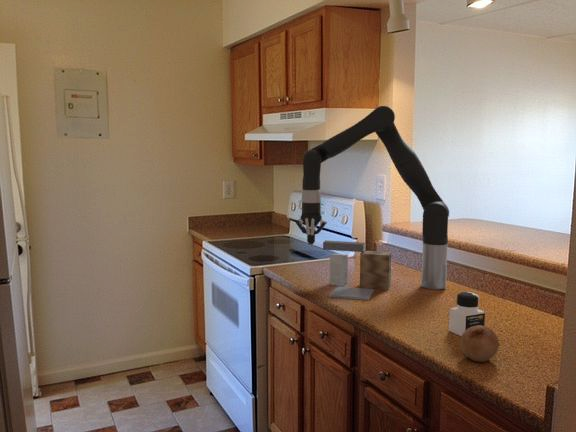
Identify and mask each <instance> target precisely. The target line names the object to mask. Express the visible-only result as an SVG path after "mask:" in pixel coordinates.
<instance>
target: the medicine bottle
mask: <svg viewBox="0 0 576 432" xmlns="http://www.w3.org/2000/svg"><path fill="white" fill-rule="evenodd" d="M456 295H457V296H456V307H450V308H449V323H448V324H449V325H448V331H449V332H451V333H453V334H455V335H457V336H459V337H461V336H462V334H463V333H464V331H465V330H467V329H468V328H470V327H471V326H477V325H481V326H485V324H486V323H485V320H486V318H485V317H486V312H485V311H484V310H482V309H479V303H480V296H479V294H476V293H474V292H470V291H462V292H459V293H458V294H456Z"/></svg>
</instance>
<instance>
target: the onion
mask: <svg viewBox="0 0 576 432" xmlns="http://www.w3.org/2000/svg"><path fill="white" fill-rule="evenodd" d="M459 344H460V348H461V350H462V352H463V355H464V356H465V357H467V358H468V359H470V360H472V361H474V362H479V363H484V362H487V361H489V360H490V359H492V358H493V357H495V356H496V354H497V353H498V350H499V346H500V340H499V338H498V336H497V334H496V332H495V331H494V330H493V329H492V328H490V327H488V326H485V325H484V326H481V325H477V326H471V327H470V328H468V329H467V330H465V331H464V333H463V334H462V336H460V343H459Z"/></svg>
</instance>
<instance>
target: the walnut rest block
mask: <svg viewBox="0 0 576 432" xmlns="http://www.w3.org/2000/svg"><path fill="white" fill-rule="evenodd" d="M359 253H360V255H359V288H363V289H374V290H376V291H377V290H378V291H379V290H380V291H390V288H391V285H392V284H391V278H392V276H391V266H392V252H391V251H375V250H374V251H373V250H365V251H364V252H359Z"/></svg>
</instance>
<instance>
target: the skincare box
mask: <svg viewBox="0 0 576 432" xmlns="http://www.w3.org/2000/svg"><path fill="white" fill-rule="evenodd" d="M348 257H349V255H348V254H345V253H344V254H343V253H332V254H330V255H329V285H333V286H337V287H338V286H340V287H346V286H347V285H348V282H349V281H348V277H349V276H348V275H349V274H348V270H349V269H348V268H349V263H348V261H349V260H348Z"/></svg>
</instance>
